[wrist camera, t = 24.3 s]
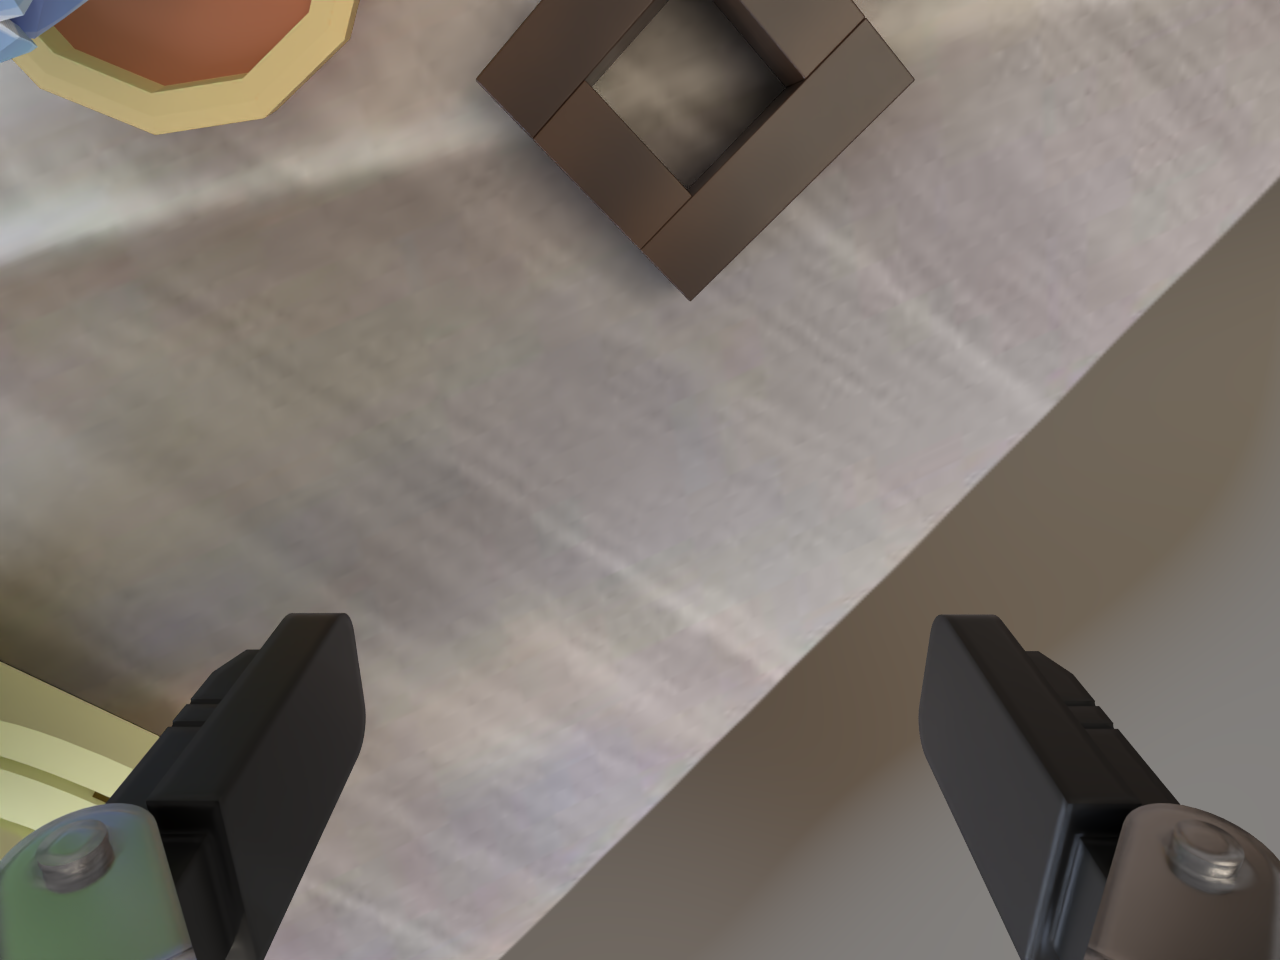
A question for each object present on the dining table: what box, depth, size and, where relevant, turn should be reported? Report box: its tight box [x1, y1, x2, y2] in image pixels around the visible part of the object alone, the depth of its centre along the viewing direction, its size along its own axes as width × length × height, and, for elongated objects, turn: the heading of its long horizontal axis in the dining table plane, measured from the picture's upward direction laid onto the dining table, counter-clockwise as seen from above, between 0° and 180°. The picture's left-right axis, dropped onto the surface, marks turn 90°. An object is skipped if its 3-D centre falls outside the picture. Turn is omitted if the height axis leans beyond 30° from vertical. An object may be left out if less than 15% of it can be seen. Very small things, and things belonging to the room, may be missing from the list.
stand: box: [476, 0, 915, 301], centre depth 34 cm, size 12×12×4 cm
